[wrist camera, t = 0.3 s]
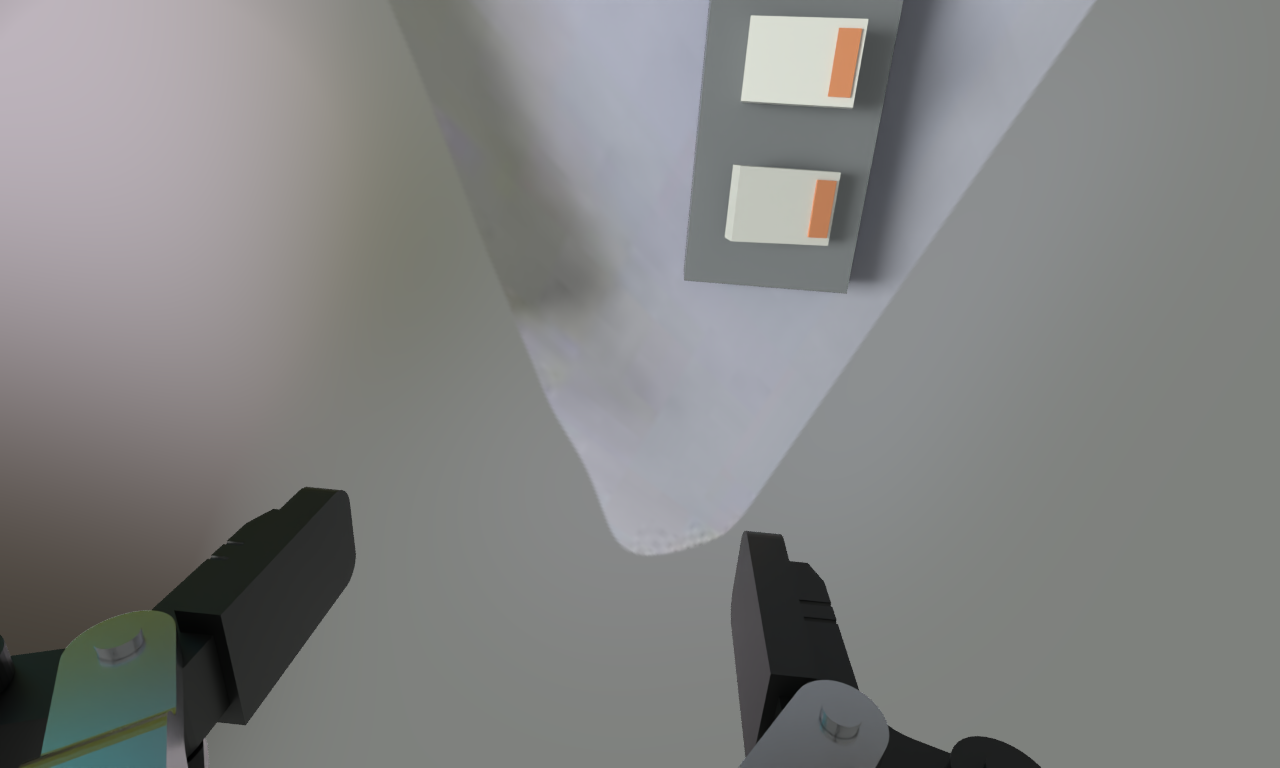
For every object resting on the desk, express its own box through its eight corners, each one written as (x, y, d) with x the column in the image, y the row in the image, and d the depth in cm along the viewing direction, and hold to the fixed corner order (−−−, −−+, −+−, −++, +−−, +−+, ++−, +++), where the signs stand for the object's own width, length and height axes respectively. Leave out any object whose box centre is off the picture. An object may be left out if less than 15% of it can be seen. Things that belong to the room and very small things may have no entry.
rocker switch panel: (735, -276, 29) (742, -321, 26) (935, -265, 28) (963, -309, 26) (683, 270, 38) (684, 280, 35) (834, 281, 37) (846, 293, 35)
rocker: (729, 163, 32) (741, 165, 30) (824, 170, 33) (842, 172, 31) (720, 235, 33) (731, 241, 31) (813, 239, 34) (828, 246, 32)
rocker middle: (754, 22, 31) (750, 14, 29) (865, 26, 29) (868, 18, 28) (745, 103, 32) (740, 100, 30) (851, 109, 31) (852, 107, 29)
